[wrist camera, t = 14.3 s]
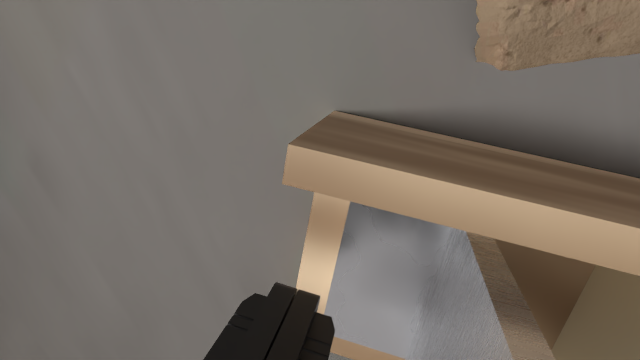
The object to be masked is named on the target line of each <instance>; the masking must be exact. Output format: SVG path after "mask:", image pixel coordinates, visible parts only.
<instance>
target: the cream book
mask: <svg viewBox="0 0 640 360" xmlns="http://www.w3.org/2000/svg"><path fill="white" fill-rule="evenodd" d="M551 351H552V353H553V355H554V357H555V359H556V360H640V276H638V275H634V274H630V273H626V272H622V271H618V270H614V269H611V268H607V267H603V266H599V265H596V266H595V268H594V270H593V272H592V274H591V275H590V277H589V279H588V281H587V283H586V285H585V287H584V289H583V291H582V293H581V295H580V296H579V298H578V300H577V302H576V304H575V306H574V308H573V310H572V312H571V314H570V316H569V317H568V319H567V321H566V323H565V325H564V327H563V329H562V331H561V333H560V335H559V337H558V338H557V340H556V342H555V344H554V346H553V348H552V350H551Z"/></svg>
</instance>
